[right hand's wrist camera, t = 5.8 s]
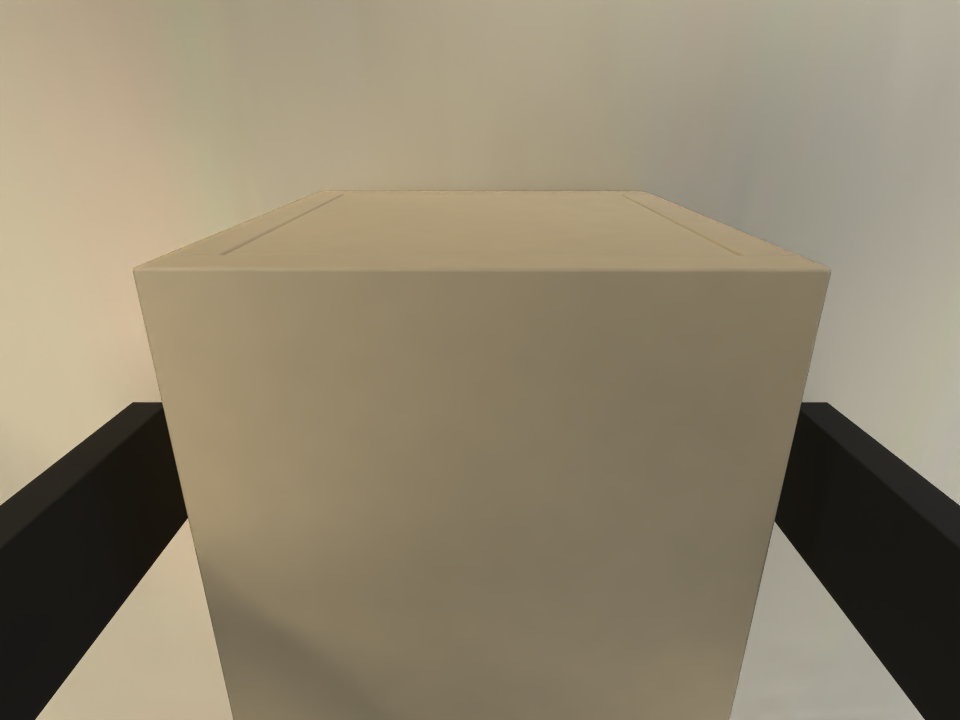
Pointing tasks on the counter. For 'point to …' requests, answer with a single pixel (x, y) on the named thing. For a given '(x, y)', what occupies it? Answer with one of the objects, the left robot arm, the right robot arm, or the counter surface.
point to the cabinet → (481, 449)
